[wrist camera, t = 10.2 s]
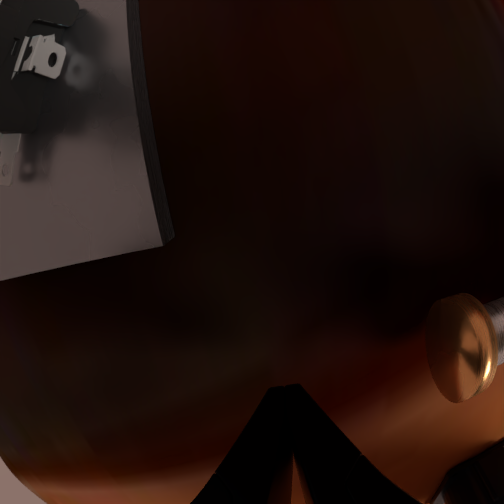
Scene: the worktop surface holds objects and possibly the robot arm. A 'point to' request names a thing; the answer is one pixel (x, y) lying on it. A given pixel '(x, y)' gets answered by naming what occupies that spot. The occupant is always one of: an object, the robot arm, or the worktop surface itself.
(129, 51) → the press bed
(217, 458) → the worktop surface
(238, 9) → the worktop surface
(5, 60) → the push button
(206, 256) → the worktop surface
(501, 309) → the press pin
